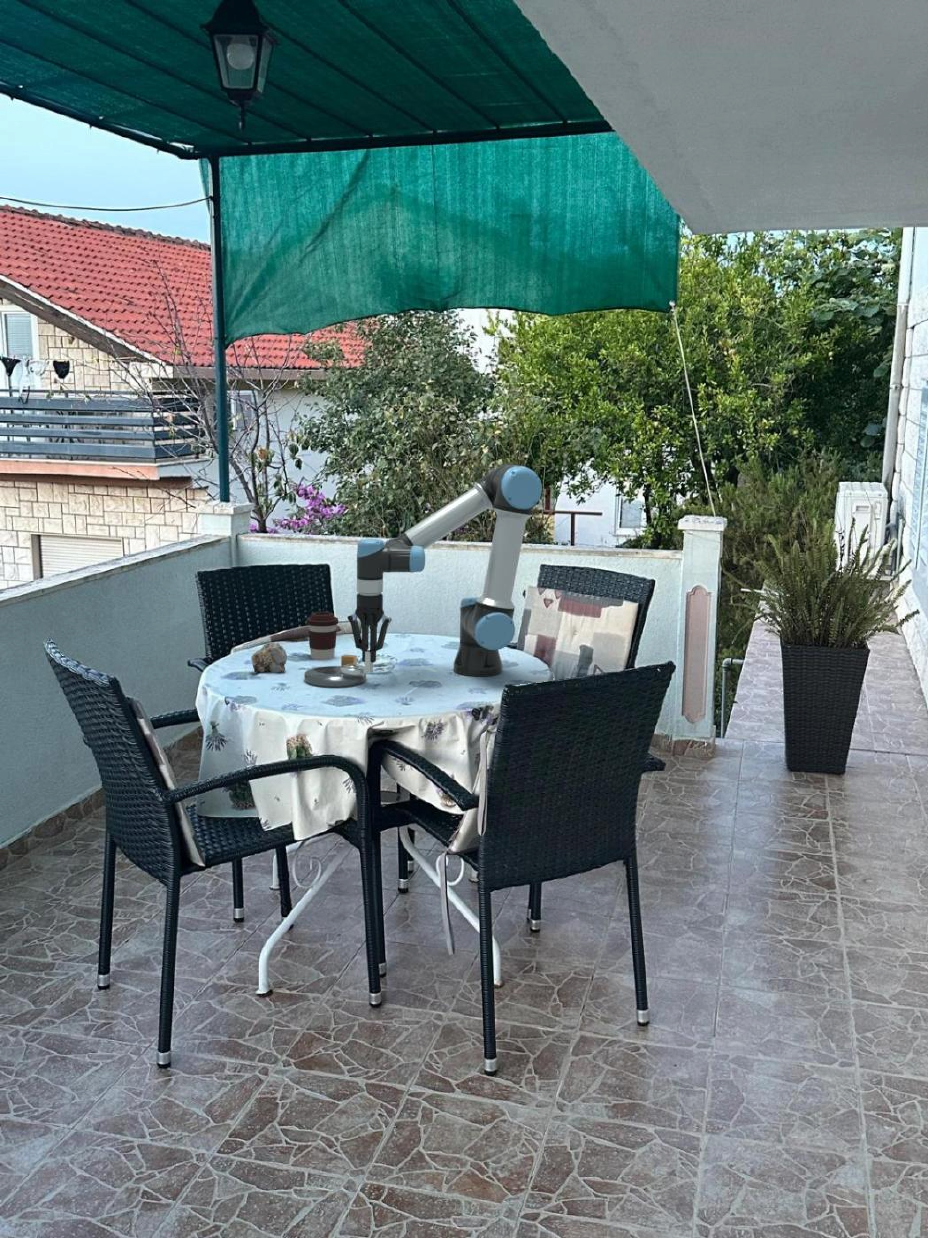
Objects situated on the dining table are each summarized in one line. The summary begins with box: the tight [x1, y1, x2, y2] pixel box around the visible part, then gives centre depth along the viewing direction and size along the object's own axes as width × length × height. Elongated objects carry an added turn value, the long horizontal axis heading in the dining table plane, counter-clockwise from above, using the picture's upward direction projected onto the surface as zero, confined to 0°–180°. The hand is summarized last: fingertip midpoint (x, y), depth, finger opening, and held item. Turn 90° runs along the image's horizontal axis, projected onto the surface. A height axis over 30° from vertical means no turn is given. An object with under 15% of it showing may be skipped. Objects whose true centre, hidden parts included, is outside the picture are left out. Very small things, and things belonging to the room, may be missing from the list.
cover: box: [340, 663, 365, 678], centre depth 340 cm, size 7×7×3 cm
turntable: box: [303, 654, 367, 689], centre depth 343 cm, size 18×21×5 cm
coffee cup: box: [306, 611, 339, 661], centre depth 368 cm, size 10×10×15 cm
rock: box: [250, 641, 288, 675], centre depth 351 cm, size 9×12×10 cm
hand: (368, 672), depth 338 cm, fingers closed
